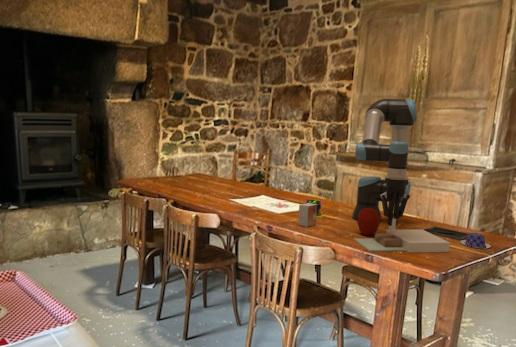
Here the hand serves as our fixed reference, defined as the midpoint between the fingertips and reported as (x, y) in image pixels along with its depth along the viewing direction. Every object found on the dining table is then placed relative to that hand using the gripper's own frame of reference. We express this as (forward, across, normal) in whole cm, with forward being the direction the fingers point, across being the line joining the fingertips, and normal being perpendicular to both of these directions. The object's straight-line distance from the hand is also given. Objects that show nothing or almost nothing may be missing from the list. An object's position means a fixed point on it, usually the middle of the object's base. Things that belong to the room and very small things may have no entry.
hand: (391, 232), depth 171 cm
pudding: (+6, +40, -1) cm, 40 cm away
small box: (+6, -27, +34) cm, 44 cm away
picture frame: (+6, +38, +16) cm, 41 cm away
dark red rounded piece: (+6, -3, +16) cm, 17 cm away
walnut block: (+5, -2, 0) cm, 5 cm away
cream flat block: (+5, +12, 0) cm, 13 cm away
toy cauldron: (+6, -17, +57) cm, 59 cm away
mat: (+5, -5, 0) cm, 8 cm away
